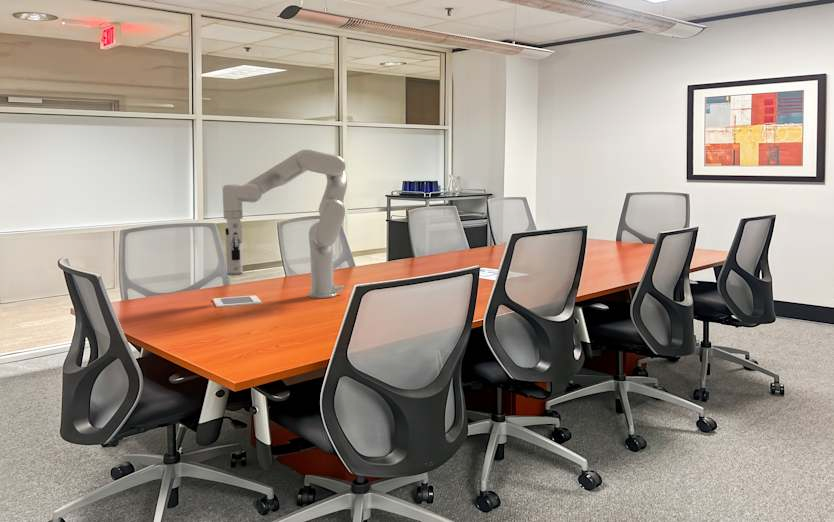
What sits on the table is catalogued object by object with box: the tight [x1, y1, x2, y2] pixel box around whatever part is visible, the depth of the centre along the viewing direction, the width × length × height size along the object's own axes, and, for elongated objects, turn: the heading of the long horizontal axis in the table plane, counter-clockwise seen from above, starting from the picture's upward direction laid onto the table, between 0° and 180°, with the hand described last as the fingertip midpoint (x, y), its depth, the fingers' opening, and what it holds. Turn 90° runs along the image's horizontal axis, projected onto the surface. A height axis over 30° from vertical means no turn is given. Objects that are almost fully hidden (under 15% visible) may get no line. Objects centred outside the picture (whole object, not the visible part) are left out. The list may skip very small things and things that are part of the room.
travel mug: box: [225, 225, 244, 277], centre depth 297 cm, size 6×7×20 cm
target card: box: [212, 294, 263, 308], centre depth 301 cm, size 18×16×1 cm
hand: (234, 258), depth 298 cm, fingers closed on travel mug, 6 cm apart
